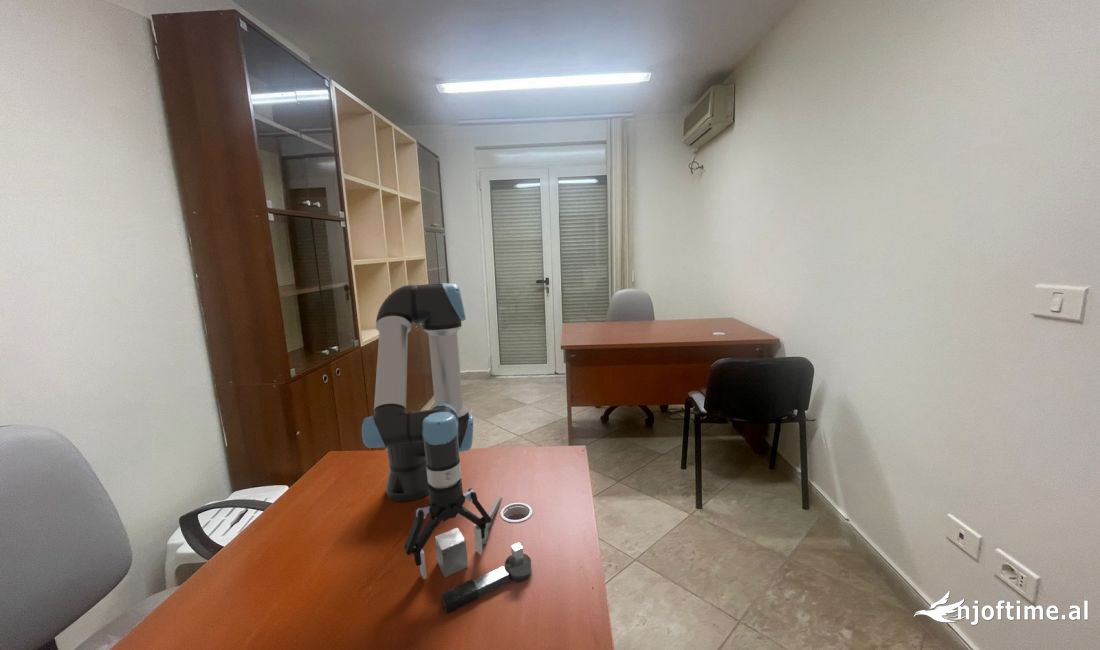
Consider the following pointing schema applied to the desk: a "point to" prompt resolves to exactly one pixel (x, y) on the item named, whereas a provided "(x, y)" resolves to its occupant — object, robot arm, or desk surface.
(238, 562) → the desk surface
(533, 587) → the desk surface
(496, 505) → the caliper
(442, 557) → the plain grey cube
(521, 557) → the ratchet
